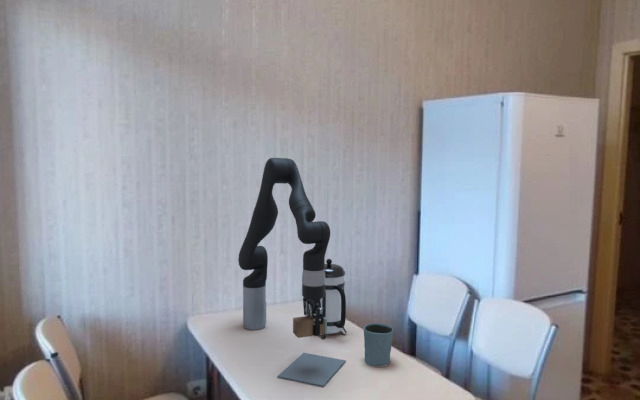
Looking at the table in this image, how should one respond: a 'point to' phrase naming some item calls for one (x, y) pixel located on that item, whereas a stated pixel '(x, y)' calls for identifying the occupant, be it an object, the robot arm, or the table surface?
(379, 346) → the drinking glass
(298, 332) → the walnut block
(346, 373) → the table surface
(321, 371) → the mat
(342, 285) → the coffee press
